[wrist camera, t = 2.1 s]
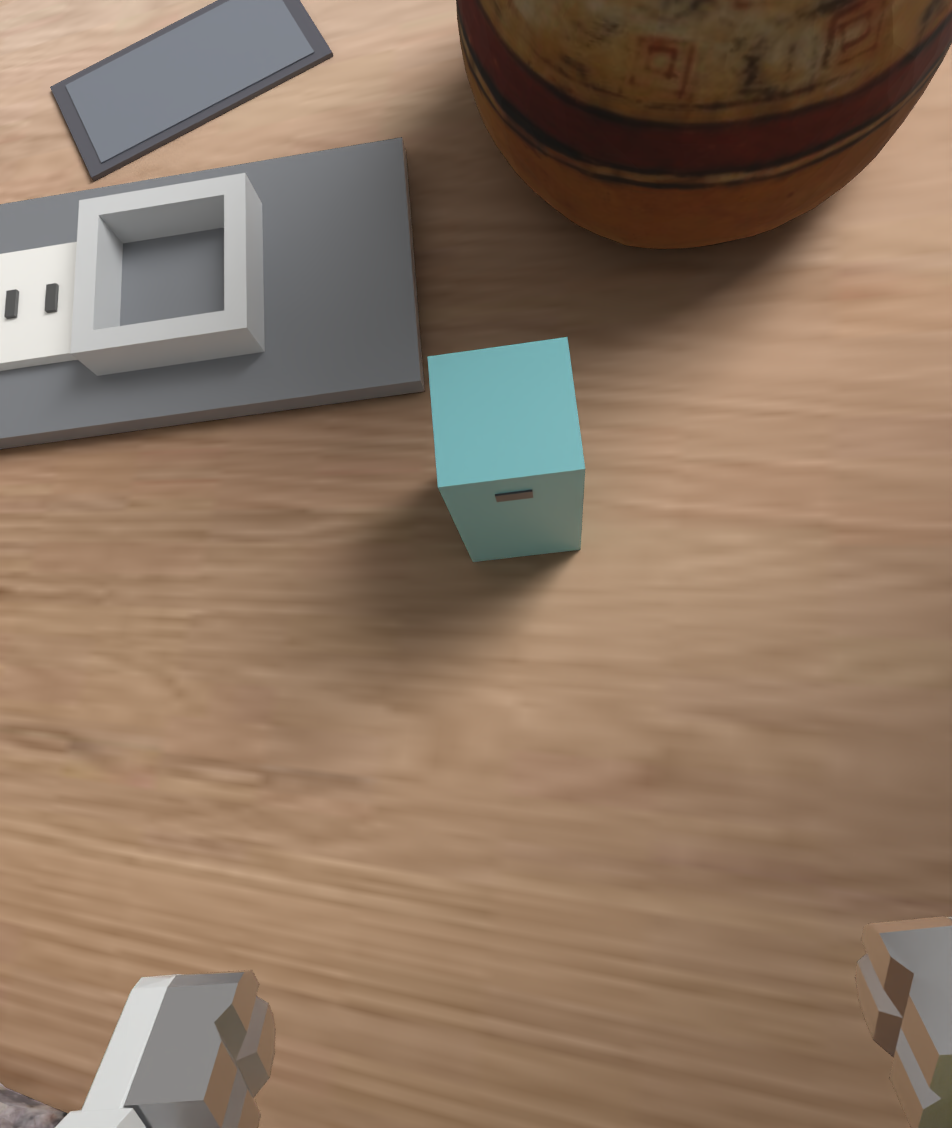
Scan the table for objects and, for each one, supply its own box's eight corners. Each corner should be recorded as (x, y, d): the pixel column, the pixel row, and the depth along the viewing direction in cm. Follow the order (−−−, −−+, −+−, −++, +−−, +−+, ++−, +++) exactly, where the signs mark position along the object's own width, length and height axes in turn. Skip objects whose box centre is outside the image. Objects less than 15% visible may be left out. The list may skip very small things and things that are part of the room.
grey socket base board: (406, 153, 38) (392, 102, 35) (424, 391, 34) (411, 356, 31) (-11, 222, 40) (-56, 179, 37) (-33, 453, 36) (-85, 426, 33)
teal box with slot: (567, 449, 33) (567, 337, 24) (580, 551, 32) (585, 470, 23) (464, 462, 33) (427, 356, 25) (472, 563, 32) (438, 489, 23)
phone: (59, 99, 42) (49, 86, 41) (284, -18, 42) (279, -34, 42) (100, 188, 40) (90, 176, 39) (336, 65, 40) (331, 50, 40)
